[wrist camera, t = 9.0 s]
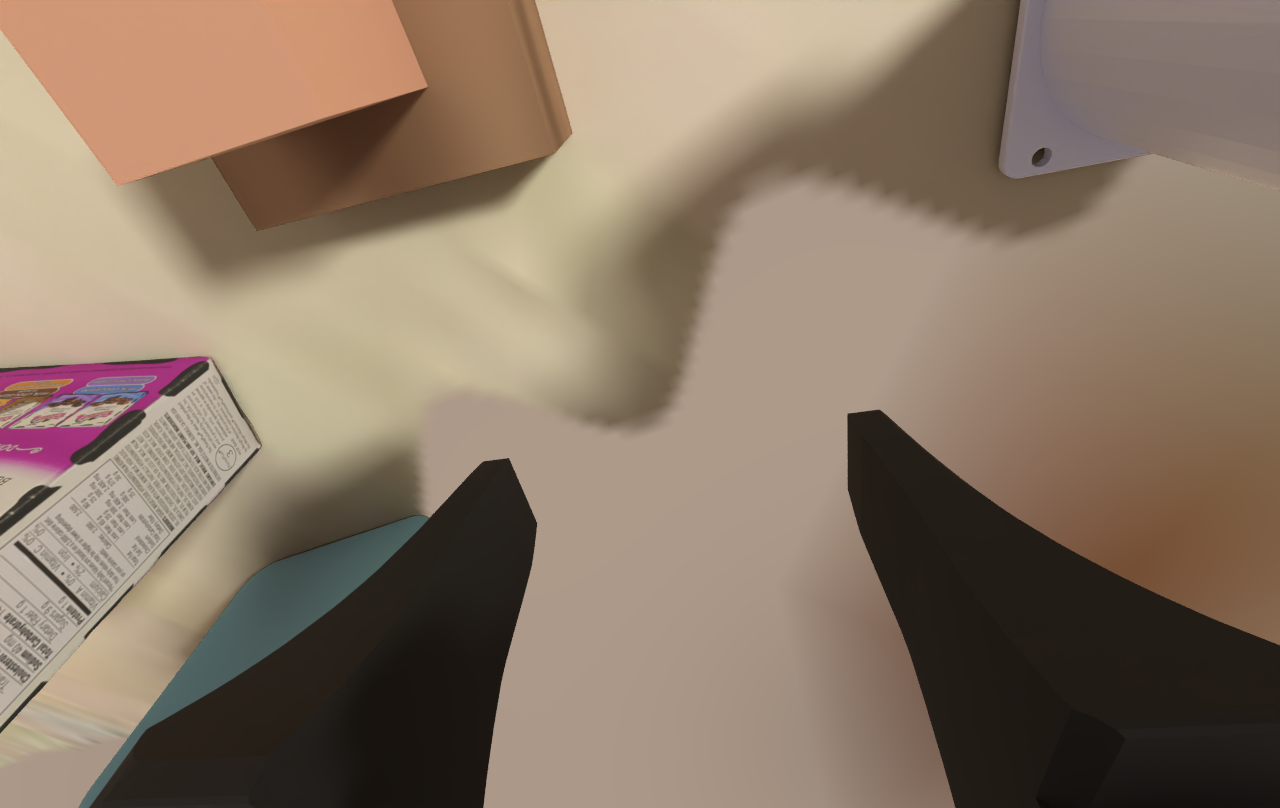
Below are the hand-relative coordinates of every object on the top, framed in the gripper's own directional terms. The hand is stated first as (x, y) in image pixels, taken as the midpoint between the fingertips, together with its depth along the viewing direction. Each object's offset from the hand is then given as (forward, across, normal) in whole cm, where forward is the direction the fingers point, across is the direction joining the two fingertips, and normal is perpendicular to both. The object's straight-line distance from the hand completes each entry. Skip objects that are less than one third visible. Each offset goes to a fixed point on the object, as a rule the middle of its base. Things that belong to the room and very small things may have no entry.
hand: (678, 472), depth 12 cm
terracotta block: (+6, +7, -10) cm, 14 cm away
